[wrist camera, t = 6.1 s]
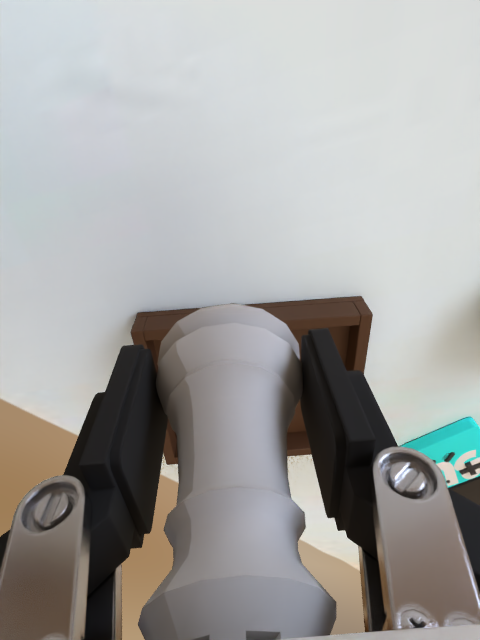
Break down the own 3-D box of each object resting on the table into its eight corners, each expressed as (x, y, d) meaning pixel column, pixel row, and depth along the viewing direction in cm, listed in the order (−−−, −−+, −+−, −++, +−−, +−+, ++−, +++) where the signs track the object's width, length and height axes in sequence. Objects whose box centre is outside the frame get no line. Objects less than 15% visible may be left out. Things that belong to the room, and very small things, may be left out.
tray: (170, 441, 33) (166, 465, 31) (137, 312, 26) (130, 332, 24) (344, 429, 33) (352, 451, 31) (361, 295, 26) (373, 314, 24)
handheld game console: (473, 414, 33) (482, 426, 32) (516, 497, 40) (525, 509, 39) (369, 459, 36) (373, 471, 34) (426, 529, 43) (432, 541, 42)
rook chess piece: (130, 353, 12) (12, 715, 5) (234, 265, 10) (260, 614, 4) (225, 422, 14) (232, 749, 7) (325, 356, 12) (453, 693, 6)
